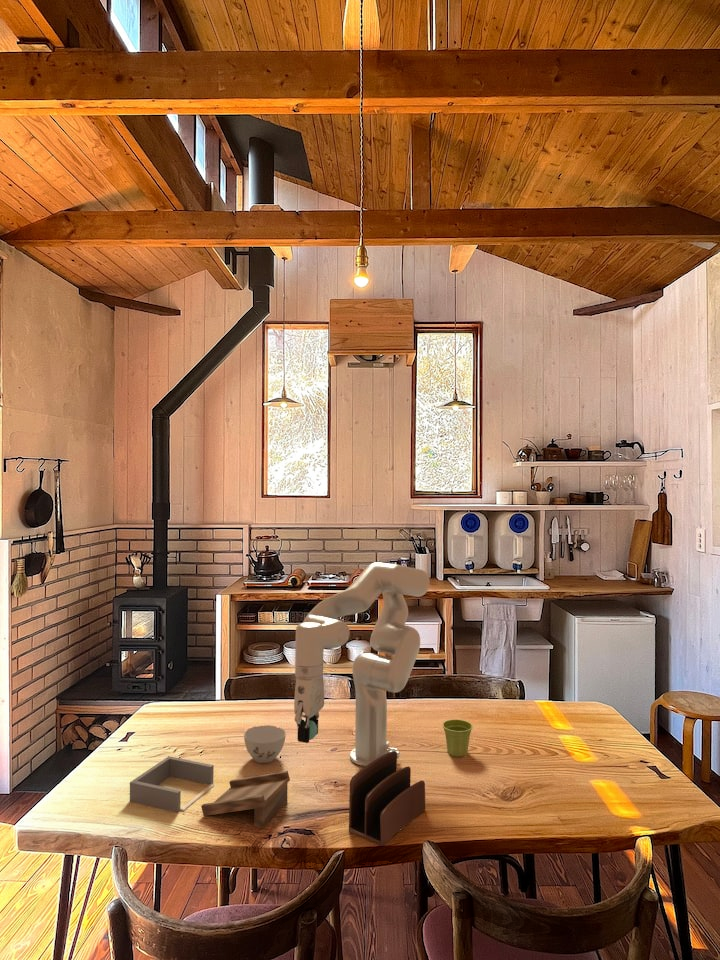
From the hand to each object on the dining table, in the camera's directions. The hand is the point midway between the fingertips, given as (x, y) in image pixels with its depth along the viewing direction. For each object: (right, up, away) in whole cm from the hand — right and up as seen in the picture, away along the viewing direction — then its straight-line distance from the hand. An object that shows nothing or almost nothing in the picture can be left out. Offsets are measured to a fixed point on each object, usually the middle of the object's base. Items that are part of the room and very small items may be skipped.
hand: (307, 736), depth 163 cm
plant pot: (+44, -16, +26) cm, 54 cm away
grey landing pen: (-36, -15, +1) cm, 39 cm away
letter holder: (+21, -16, -12) cm, 29 cm away
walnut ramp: (-15, -16, -7) cm, 23 cm away
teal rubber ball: (0, -1, 0) cm, 1 cm away
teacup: (-15, -16, +22) cm, 31 cm away
